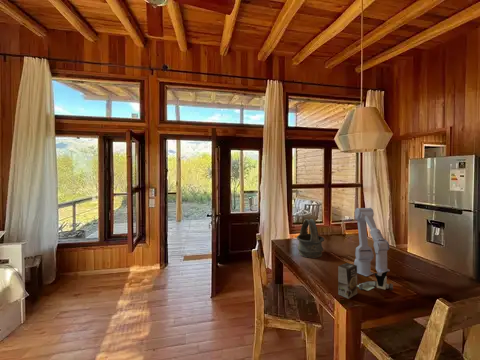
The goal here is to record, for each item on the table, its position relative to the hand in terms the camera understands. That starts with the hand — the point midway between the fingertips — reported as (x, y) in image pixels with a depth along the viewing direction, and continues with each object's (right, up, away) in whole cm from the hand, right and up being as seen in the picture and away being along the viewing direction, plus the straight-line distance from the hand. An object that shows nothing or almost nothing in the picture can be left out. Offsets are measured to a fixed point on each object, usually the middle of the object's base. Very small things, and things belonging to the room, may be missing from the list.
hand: (381, 283), depth 142 cm
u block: (0, -2, 0) cm, 2 cm away
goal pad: (-9, -2, 0) cm, 10 cm away
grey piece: (-5, -2, -2) cm, 6 cm away
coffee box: (-23, -3, -7) cm, 25 cm away
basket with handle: (-24, -1, +60) cm, 65 cm away
